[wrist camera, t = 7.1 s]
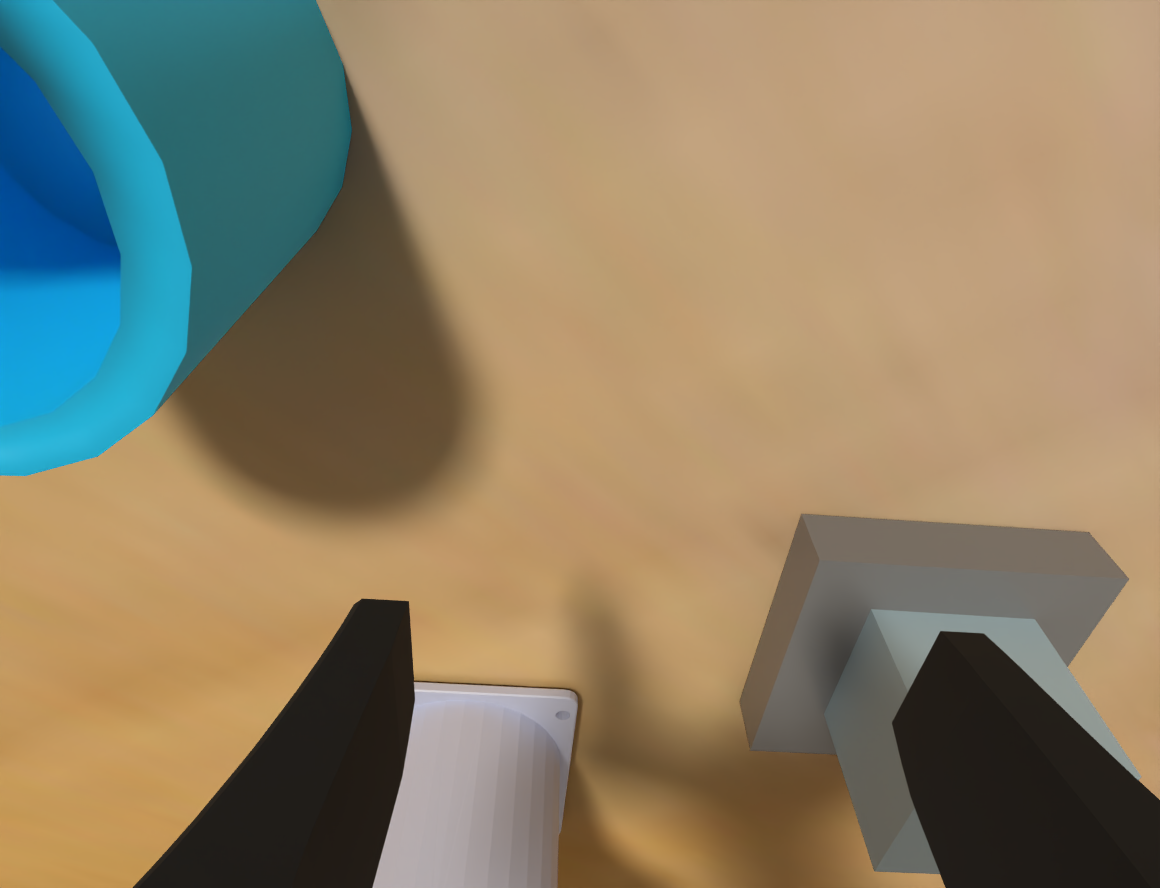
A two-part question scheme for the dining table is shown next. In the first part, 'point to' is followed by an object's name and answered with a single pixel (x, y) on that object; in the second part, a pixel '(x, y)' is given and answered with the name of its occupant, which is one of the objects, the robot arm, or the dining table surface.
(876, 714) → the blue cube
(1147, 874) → the robot arm
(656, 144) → the dining table surface
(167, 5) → the mug
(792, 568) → the slate base
